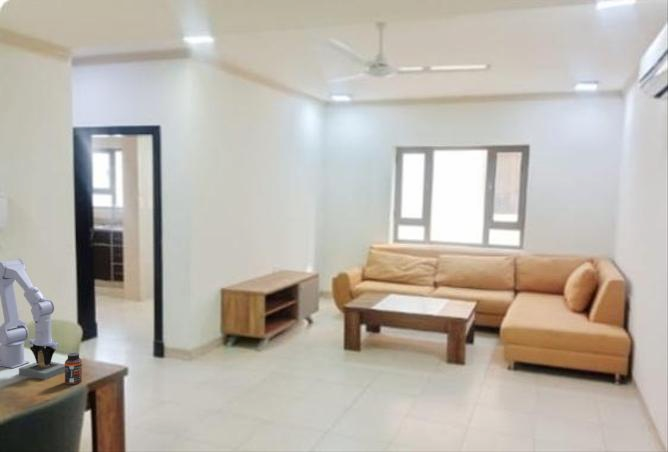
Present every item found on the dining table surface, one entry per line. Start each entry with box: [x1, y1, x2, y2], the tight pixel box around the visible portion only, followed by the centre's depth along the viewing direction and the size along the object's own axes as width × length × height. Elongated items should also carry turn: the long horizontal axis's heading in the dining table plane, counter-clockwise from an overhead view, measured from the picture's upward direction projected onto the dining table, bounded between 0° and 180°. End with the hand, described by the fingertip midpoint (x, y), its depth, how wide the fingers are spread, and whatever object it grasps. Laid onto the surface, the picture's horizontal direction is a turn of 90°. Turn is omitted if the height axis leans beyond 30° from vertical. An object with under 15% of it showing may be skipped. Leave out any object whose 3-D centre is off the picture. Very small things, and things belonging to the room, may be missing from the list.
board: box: [18, 361, 65, 381], centre depth 216 cm, size 14×11×3 cm
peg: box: [38, 351, 49, 369], centre depth 216 cm, size 4×4×8 cm
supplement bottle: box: [64, 352, 83, 386], centre depth 206 cm, size 6×6×11 cm
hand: (43, 363), depth 216 cm, fingers closed on peg, 4 cm apart
